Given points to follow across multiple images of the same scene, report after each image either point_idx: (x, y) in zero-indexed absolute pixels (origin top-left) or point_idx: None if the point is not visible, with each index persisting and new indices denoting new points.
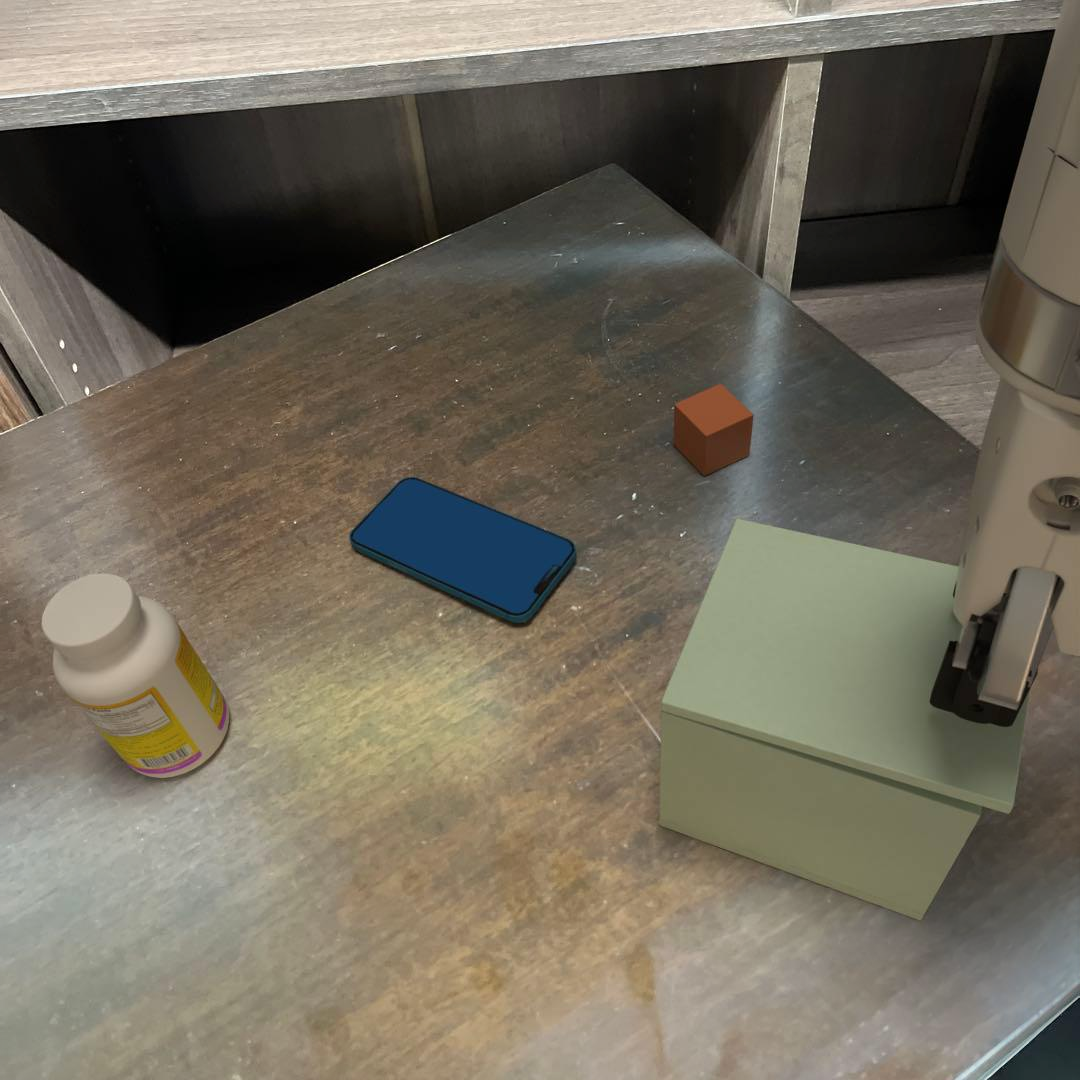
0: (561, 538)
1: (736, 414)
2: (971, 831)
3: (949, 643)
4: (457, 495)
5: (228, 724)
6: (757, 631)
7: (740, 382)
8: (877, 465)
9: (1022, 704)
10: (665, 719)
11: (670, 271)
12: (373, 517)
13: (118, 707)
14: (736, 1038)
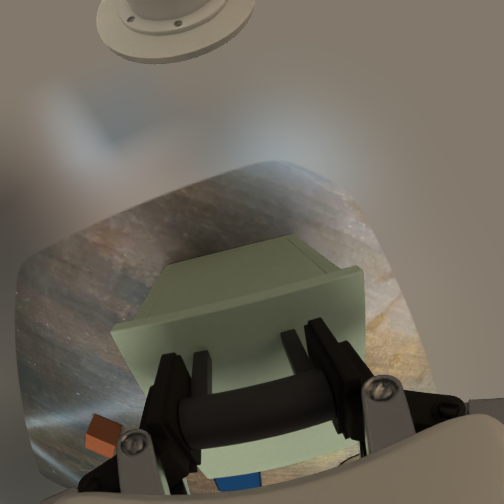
0: None
1: (93, 439)
2: (338, 267)
3: (348, 437)
4: (215, 481)
5: (347, 461)
6: (289, 446)
7: (67, 425)
8: (51, 363)
9: (334, 337)
10: None
11: (52, 456)
12: (246, 488)
13: None
14: (382, 278)
